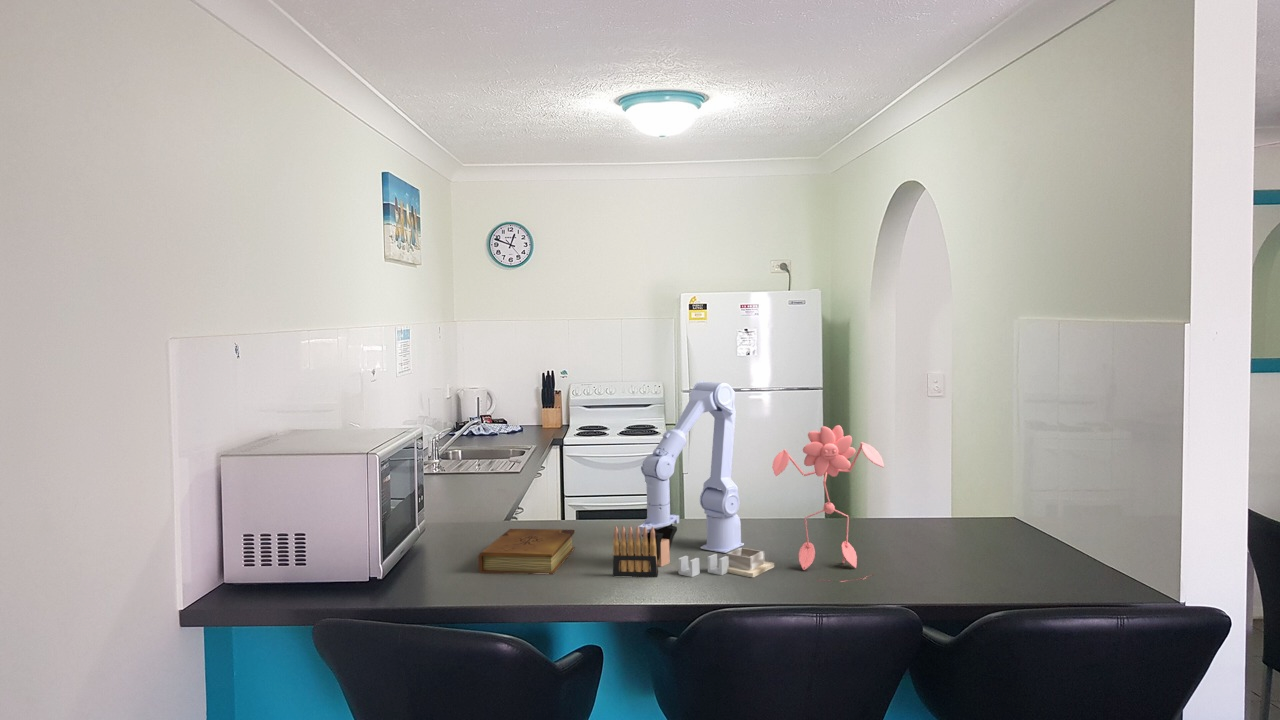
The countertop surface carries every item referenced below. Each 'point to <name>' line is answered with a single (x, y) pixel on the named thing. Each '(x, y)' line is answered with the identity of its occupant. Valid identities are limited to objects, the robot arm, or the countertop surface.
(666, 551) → the orange rectangular block
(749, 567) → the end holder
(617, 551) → the ammunition clip
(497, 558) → the diary
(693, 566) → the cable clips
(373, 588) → the countertop surface
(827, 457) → the figurine
